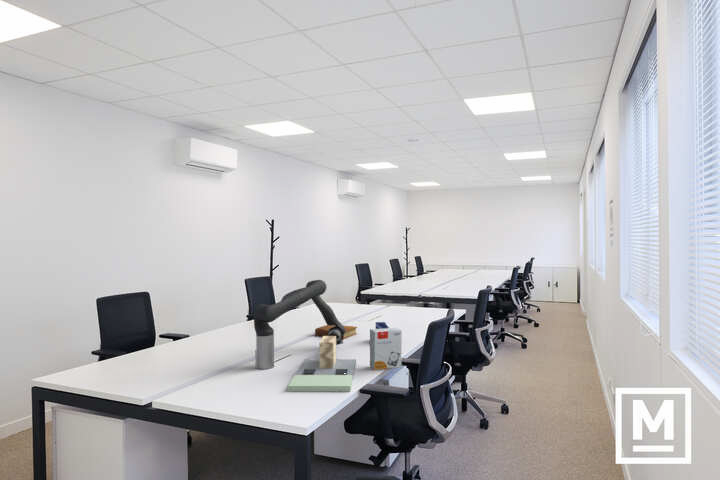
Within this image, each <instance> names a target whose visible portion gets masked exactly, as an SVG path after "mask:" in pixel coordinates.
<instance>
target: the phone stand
mask: <svg viewBox="0 0 720 480" xmlns="http://www.w3.org/2000/svg"><path fill="white" fill-rule="evenodd" d="M382 328H390V327H389V326H388V325H387V323H386V322H385V321H376V322H375V329H382Z"/></svg>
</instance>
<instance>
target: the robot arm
mask: <svg viewBox="0 0 720 480" xmlns="http://www.w3.org/2000/svg"><path fill="white" fill-rule="evenodd" d="M326 291H327V284H326V282H325V281H324V280H321V279H316V280H315V279H314V280H311V281H308V282H307V283H306V285H305V287H302V288H298V289H294V290H292V291H290V292H288V293H285V295H283V296H282V299H281V300H280V301H279V302H276V303H274V304H265V303H264V304H263V303H260V304H257V305H256V306H255V308H254V310H253V323H254V324H253V325H254V326H253V328H254V332H255V341H256V342H255V343H256V344H255V347H256V349H255V351H254V352H255V354H254V356H255V357H254V358H255V360H254V361H255V367H254V368H255V369H259V370H268V369H273V368H274V367H275V336H274V335H275V330H274V328H273V327H271V326H270V324H269V323H272V322H274V321H275V320H277V319H278V318H280V317H281V316H283V315H284V314H287V313H288V312H290V311H291V310H294V309H296V308H298V307H300V306H301V305H303V304H305V303H306V302H308V301H310V300H312V303H314V305H315V306H316V308H317V309H318V310H319V312H320V313H321V316H322V317H323V319H324V322H325V323H326V325H336V326H334V327H332V328H330V329H329V330H328V336H336V346H339V345H342V344H344V339H341V336H342V335H344V334H345V328H344V326H345V325H344V326H343V324H342V323H341V322H340V321H339V319H338V318H337V316H336V314H335V312H334V310H333V309H332V307H331V306H330V305H329V304H327V302H325V301H324V299H322V297H321V295H324V294H325V292H326Z"/></svg>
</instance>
